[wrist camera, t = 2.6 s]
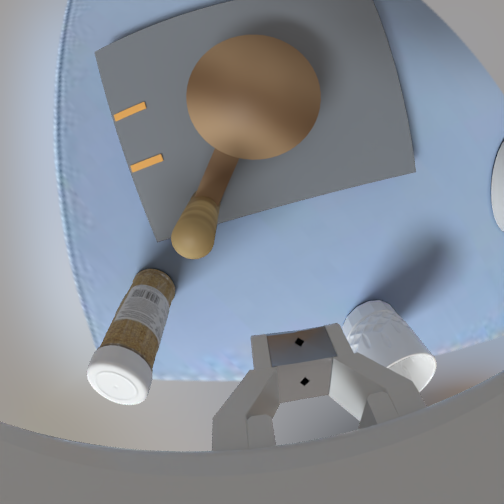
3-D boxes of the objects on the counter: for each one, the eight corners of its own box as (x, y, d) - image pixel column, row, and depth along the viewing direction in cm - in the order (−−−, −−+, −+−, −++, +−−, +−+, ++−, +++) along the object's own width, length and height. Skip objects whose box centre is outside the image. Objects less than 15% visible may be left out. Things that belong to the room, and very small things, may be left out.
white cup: (332, 351, 34) (355, 415, 25) (342, 297, 31) (376, 361, 22) (388, 343, 34) (420, 399, 25) (403, 292, 31) (447, 346, 22)
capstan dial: (222, 29, 18) (216, -13, 11) (328, 76, 20) (370, 57, 13) (149, 195, 23) (114, 229, 16) (250, 235, 25) (257, 284, 18)
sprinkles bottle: (127, 290, 29) (78, 385, 17) (145, 258, 28) (94, 352, 16) (163, 312, 30) (133, 415, 18) (185, 282, 29) (158, 387, 17)
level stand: (359, -6, 18) (367, -13, 16) (405, 168, 25) (416, 172, 23) (103, 56, 20) (94, 51, 18) (162, 234, 27) (157, 242, 25)
